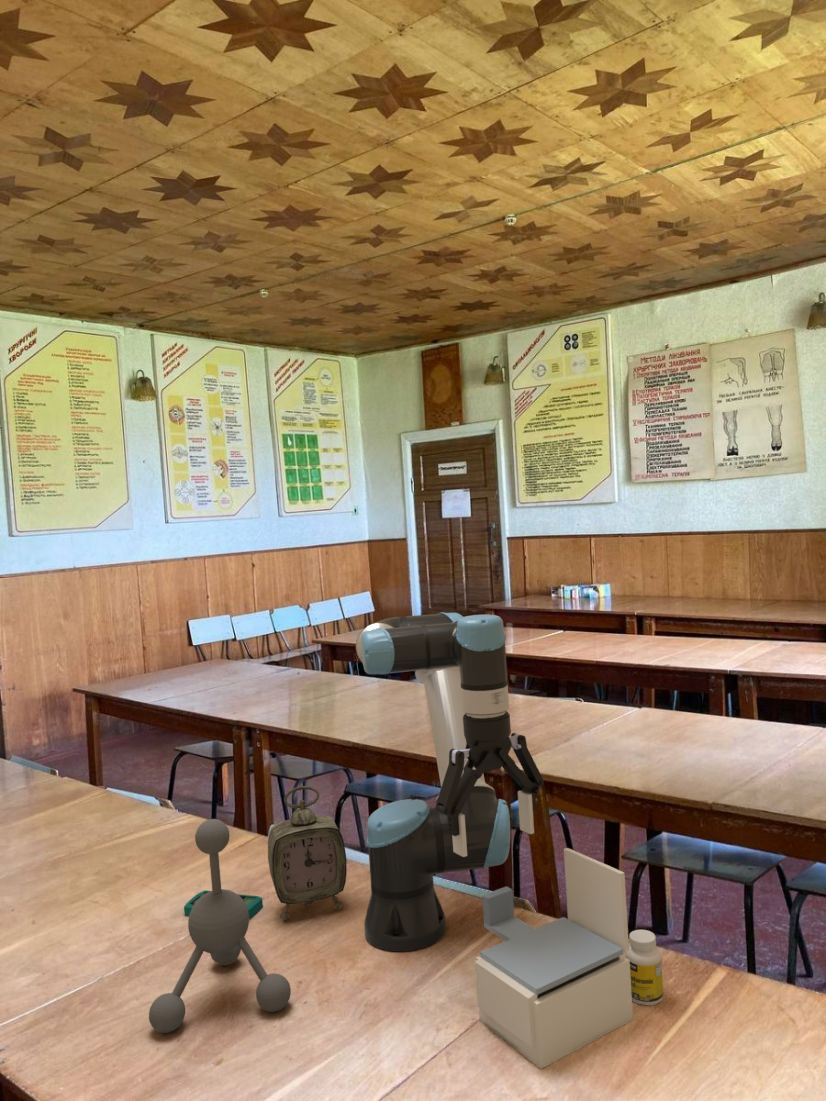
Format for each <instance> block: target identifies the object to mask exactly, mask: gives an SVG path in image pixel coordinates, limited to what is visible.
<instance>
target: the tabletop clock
mask: <svg viewBox="0 0 826 1101" xmlns="http://www.w3.org/2000/svg"><path fill="white" fill-rule="evenodd" d="M302 790H303V791H304V790H310V791H313V792H314V793H315V794H316V798H315V799H313V800H312V801H309V802H306V801H305V800H304V799H301V800H300V801H299V803H298V804H291V803H289V802H288V801H287V798H288V797H289V796H290V795H291V794H292V793H294V792H297V791H302ZM319 799H320V792H319V791H318V789H317V788H315V787H314V786H311V785H300V786H297V787H296V786H295V787H293V788H292V789H290V790H288V791H287V793H286V794H285V795H284V798H283V800H284V801H283V802H284V804H285V805H286V806H287V807H289V808H291V809H296V810H295V811H293V813H292V814H291V816H290V819H287V820H283V821H280V822H278V823H276V824H274V825H272V826H271V827H270V830H269V832H268V838H267V840H268V841H267V861H268V866H269V867H268V868H269V874H270V877H271V880H272V883H273V887H274V889H275V894H276V896H277V898H278V900H279V902H280V903H281V904H285V909H284V911H283V912H282V913H281V915H280V918H281V920H282V921H287V920H289V918H290V914H289V909H290V906H291V905H298V904H299V905H300V904H304V905H306V906H310V905H311V904H312V903H314V902H318V901H322V900H327V899H328V898H332V899H333V901H334V907H335V909H336V910H338V911H340V910H342V909H343V908H344V904H343V901H341V900H338V899H337V895H339V894H340V893H342V892H343V891H344V890H345V886H346V882H347V874H348V873H347V872H348V871H347V859H348V858H347V852H346V847H345V846H346V845H345V842H344V838H343V835H342V833H341V831H340V829H339V828H338V826H337V824H336V822H335V821H334V819H333V817H332V816H329V815H324V814H320V815H319V814H317V815H316V814H315V812H314V811H313V810H312V809H311V808H310V806H312V805H314V804H316V803H317V801H319Z"/></svg>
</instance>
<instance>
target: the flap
mask: <svg viewBox="0 0 826 1101" xmlns="http://www.w3.org/2000/svg"><path fill="white" fill-rule="evenodd" d="M481 898H482V899H481V900H482V912H483V914H482V915H483V927H484V929H486V930H488V931H489V932H491V933H492V934H494V935H495V936H497V937H498V938H500V939H502V940H503V942H500V943H498V944H495V945H493V946H490V947H488V948H486V949H483V950H480V952H479V956H480V957H481V958H483V959H484V960H486V961H487V962H489V963H490V964H492V965H493V966H495V967H496V968H498V969H499V970H501V971H502V972H504V973H505V974H507V975H508V976H509V977H511V978H512V979H514V980H515V981H517V982H518V983H520V984H521V985H523V986H524V987H526V988H527V989H529V990H530V991H532V992H533V993H535V994H536V995H538V994H540V993H542V992H544V991H546V990H549V989H551V988H553V987H555V986H557V985H559V984H561V983H563V982H566V981H568V980H570V979H572V978H574V977H576V976H578V975H580V974H582V973H585V972H587V971H589V970H591V969H593V968H595V967H597V966H599V965H602V964H604V963H606V962H608V961H610V960H612V959H614V958H616V957H619V956H621V955H623V949H622V948H620V947H618V946H617V945H615V944H613V943H611V942H609V941H607V940H605V939H604V938H602V937H600V936H598V935H596V934H594V933H592V932H590V931H589V930H587V929H585V928H583V927H581V926H579V925H577V924H576V923H574V922H572V921H570V920H568V918H567V917H564V916H562V917H560V918H557V919H555V920H553V921H551V922H548V923H545V924H543V925H540V926H538V927H536V928H535V927H533V926H532V925H530V924H528V923H527V922H524V921H522V920H521V919H520V918H518V917H516V916H515V904H514V902H515V901H514V889H512V888H510V887H509V886H504V887H501V888H498V889H496V890H494V891H490V892H488V893H485V894H483V895H482V896H481Z"/></svg>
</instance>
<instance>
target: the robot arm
mask: <svg viewBox="0 0 826 1101" xmlns="http://www.w3.org/2000/svg"><path fill="white" fill-rule="evenodd" d="M506 636H507V635H506V634H505V628H504V621H503V619H502V618H501V616H498V615H496V614H473V615H467V616H463V615H461V614H460V613H458V612H443V611H441V612H438V613H432V614H420V615H408V616H406V615H405V616H393V617H388V618H385V619H382V620H378V621H376V622H373V623H370V624H369V625H368V626H365V627H364V629H362V630H361V631H360V632H359V634H358V635H357V638H356V641H355V651H356V655H357V657H358V659H359V660H360V662H361V663H362V666H363V670H364V672H365V673H366V674H367V675H388V674H394V673H395V674H397V673H404V672H414V676H415V678H416V680H417V681H418V682H419V683H421V684H422V685H424V691H425V697H426V702H427V703H426V704H427V708H428V715H429V721H430V726H431V727H430V728H431V733H432V740H433V745H434V751H435V758H436V764H437V770H438V774H439V775H438V776H439V781H440V787H441V788H440V790H439V791H440V792H439V793H438V795H437V796H436V798H435V807H430V806H429V805H428V803H427V802H426V801H425V800H422V799H412V798H406V799H400V800H396V801H392V802H389V803H386V804H384V805H381V806H380V807H379V808H378V809H376V810H374V811H373V812H372V813H371V814H370V816H369V817H368V820H367V822H366V823H367V824H366V829H367V832H366V834H367V836H366V837H367V838H366V846H367V847H368V859H369V860H368V862H369V875H370V898H369V901H368V905H367V909H366V913H365V914H366V915H365V917H364V924H363V925H364V926H363V927H364V936H365V937H364V938H365V939H366V940H367V942H368V943H369V944H370V945H372V946H373V947H376V948H378V949H381V950H384V951H392V952H411V951H416V950H419V949H424V948H426V947H430V946H431V945H433V944H435V943H436V942H439V941H440V939H442V938H443V937H444V935H445V934H446V931H447V924H446V923H447V921H446V920H447V919H446V915H445V911H444V909H443V907H442V904H441V902H440V899H439V897H438V894H437V892H436V889H435V887H434V883H435V882H434V875H438V874H444V873H445V874H446V873H453V872H461V871H470V870H478V869H482V870H486V868H490V867H495V866H496V867H497V866H501V865H503V864H504V863H505V862H506V860H507V859H508V857H509V852H510V847H511V846H510V845H511V820H510V818H511V817H510V809H509V806H508V803H507V801H506V800H504V799H501V798H498V799H497V794H496V791H495V789H494V787H493V786H491V785H490V784H487V782H486V780H485V776H484V773H485V774H487V773H490V772H492V771H495V770H496V771H497V770H501V769H502V768H503V770H504V771H505V772H506V773H507V774H508V775H509V776H510V777H511V779H512V780H514V782H515V783H516V784H517V785H518V787H520V788H521V789H522V790H518V791H517V800H518V801H517V802H518V818H519V830H520V831H521V832H524V833H526V834H529V835H533V834H535V826H534V825H535V824H534V811H535V810H536V797H535V795H537V794H539V793H540V788H539V787H543V786H544V785H545V780H544V778H543V776H542V774H541V773H540V770H539V768H538V766H537V764H536V762H535V760H534V759H533V757H532V755H531V753H530V750H529V749H528V744H527V739H526V736H525V735H522V734H519V733H515V732H512V729H511V728H512V726H511V717H510V716H511V714H510V712H508V710H509V709H510V700H509V684H508V671H507V670H508V668H507V654H506V641H507V637H506ZM511 733H512V734H511ZM511 749H512V750H513V752H514V754H515V756H516V758H517V760H518V762H519V764H520V766H521V768H522V770H523V771H522V770H521V769H520V768H519V766H518V765H517V764H516V761H514V759H513V758H512V757H511V756H510V751H511Z"/></svg>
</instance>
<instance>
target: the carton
mask: <svg viewBox="0 0 826 1101" xmlns="http://www.w3.org/2000/svg"><path fill="white" fill-rule="evenodd" d="M563 858H564V859H563V860H564V874H565V892H566V908H567V909H566V910H567V919H568V920H570V921H572V922H574V923H576V924H577V925H579V926H581V927H583V928H585V929H587V930H589V931H590V932H592V933H594V934H596V935H598V936H600V937H602V938H604V939H605V940H607V941H609V942H611V943H613V944H615V945H617V946H618V947H620V948H622V949H623V955H621V956H619V957H616V958H614V959H612V960H610V961H608V962H606V963H604V964H602V965H599V966H597V967H595V968H593V969H591V970H589V971H587V972H585V973H582V974H580V975H578V976H576V977H574V978H572V979H570V980H568V981H566V982H563V983H561V984H559V985H557V986H555V987H553V988H551V989H549V990H546V991H544V992H542V993H540V994H538V995H536V994H535V993H533V992H532V991H530V990H529V989H527V988H526V987H524V986H523V985H521V984H520V983H518V982H517V981H515V980H514V979H512V978H511V977H509V976H508V975H507V974H505V973H504V972H502V971H501V970H499V969H498V968H496V967H495V966H493V965H492V964H490V963H489V962H487V961H486V960H484V959H483V958H481V957H480V955H478V956H476V957H475V960H474V973H475V988H476V1003H477V1004H476V1006H477V1008H478V1011H479V1012H478V1013H479V1022H480V1023H481V1024H482V1025H483V1026H485V1028H488V1029H489V1030H490V1031H491V1032H493V1033H494V1034H495V1035H497V1036H498V1037H499V1038H500V1039H502V1040H503V1041H504V1042H505V1043H506V1044H508V1045H510V1047H512V1048H513V1049H515V1050H516V1051H517V1052H518V1053H520V1055H522V1056H524V1057H525V1058H526V1059H527V1060H529V1061H530V1062H531V1063H532V1064H534V1066H537V1067H538V1068H539V1069H540V1070H542V1069H544V1068H545V1067H548V1066H549V1065H552V1064H553V1063H555V1062H557V1061H560V1060H561V1059H563V1058H565V1057H567V1056H568V1055H570V1054H572V1053H574V1052H576V1051H578V1050H580V1049H582V1048H584V1047H586V1046H587V1045H589V1044H591V1043H592V1042H594V1041H597V1040H598V1039H600V1038H602V1037H604V1036H606V1035H607V1034H610V1033H611V1032H613V1031H615V1030H617V1029H620V1028H621V1027H623V1026H624V1025H626V1024H628V1023H630V1022H632V1021H634V1015H633V1014H634V1012H633V1001H632V994H631V977H630V960H629V959H627V958H626V956H625V954H626V952H628V951H629V946H630V942H629V928H628V927H629V926H628V910H627V909H628V908H627V907H628V906H627V892H626V876H625V872H624V871H621V870H619V869H618V868H615V867H612V866H611V865H608V864H606V863H603V862H601V861H599V860H596V859H594V858H592V857H589V856H587V855H585V854H583V853H580V852H578V851H577V850H576V851H575V850H573V849H572V848H569V847H566V848H564V849H563Z"/></svg>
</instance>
